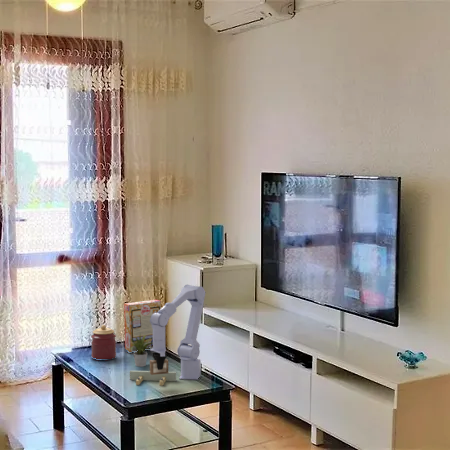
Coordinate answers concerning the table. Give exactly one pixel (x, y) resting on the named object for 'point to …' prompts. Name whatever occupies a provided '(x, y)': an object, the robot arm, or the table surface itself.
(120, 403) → the table surface
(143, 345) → the house plant
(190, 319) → the robot arm
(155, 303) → the board game box
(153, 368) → the frame
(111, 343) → the canister
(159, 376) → the ledge
